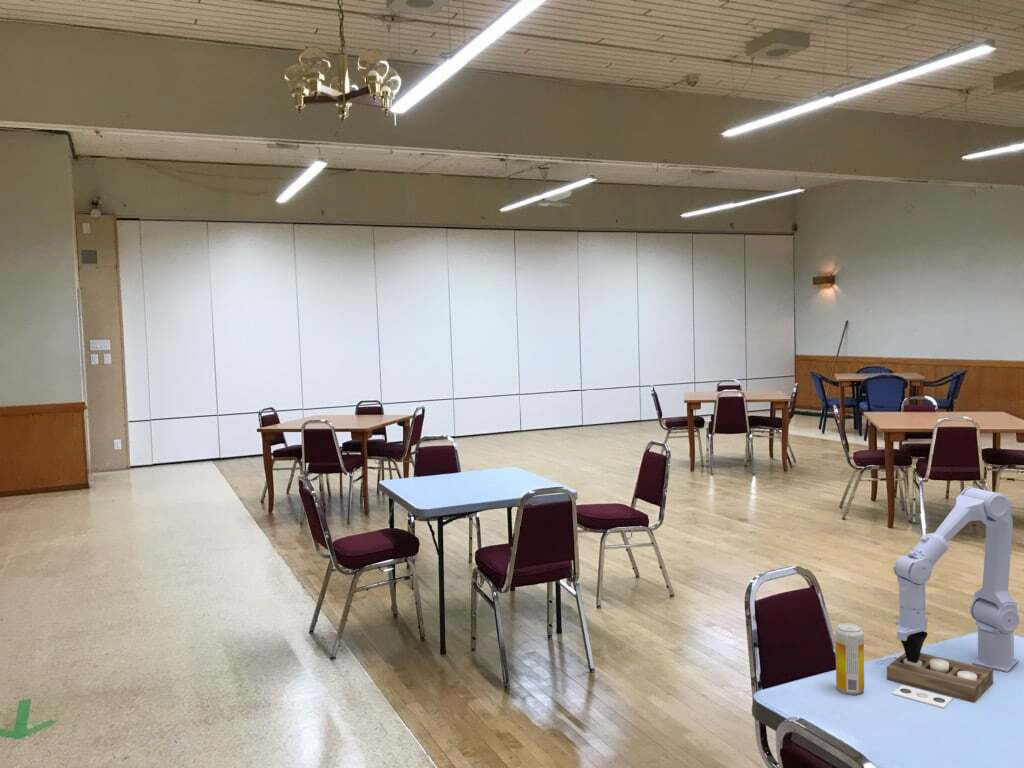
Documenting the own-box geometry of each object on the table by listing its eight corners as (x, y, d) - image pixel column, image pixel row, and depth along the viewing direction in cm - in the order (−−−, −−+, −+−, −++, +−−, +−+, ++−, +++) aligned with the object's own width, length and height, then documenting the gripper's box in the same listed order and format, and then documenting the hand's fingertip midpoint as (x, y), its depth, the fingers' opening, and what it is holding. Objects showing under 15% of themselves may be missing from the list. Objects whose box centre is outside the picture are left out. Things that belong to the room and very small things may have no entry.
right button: (960, 679, 191) (960, 669, 190) (979, 684, 188) (979, 673, 188) (955, 685, 188) (955, 674, 188) (974, 689, 185) (974, 679, 185)
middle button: (933, 667, 195) (933, 657, 195) (951, 671, 192) (951, 661, 192) (927, 672, 192) (927, 662, 192) (945, 677, 189) (945, 666, 189)
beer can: (859, 684, 191) (858, 622, 191) (868, 695, 185) (867, 631, 185) (833, 684, 192) (832, 622, 191) (840, 695, 186) (839, 631, 185)
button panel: (908, 662, 204) (908, 649, 204) (993, 682, 190) (993, 669, 190) (887, 679, 194) (886, 666, 194) (974, 702, 180) (974, 688, 180)
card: (902, 686, 190) (902, 684, 190) (952, 699, 182) (952, 697, 182) (892, 694, 186) (892, 692, 186) (943, 708, 178) (943, 706, 178)
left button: (907, 666, 199) (907, 656, 199) (924, 670, 196) (924, 660, 196) (901, 671, 196) (901, 661, 196) (918, 675, 193) (918, 665, 193)
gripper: (906, 595, 203) (906, 648, 204) (883, 610, 193) (884, 665, 194) (936, 601, 198) (936, 655, 199) (914, 616, 188) (915, 673, 189)
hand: (912, 661), depth 196 cm, fingers closed, pressing on left button
